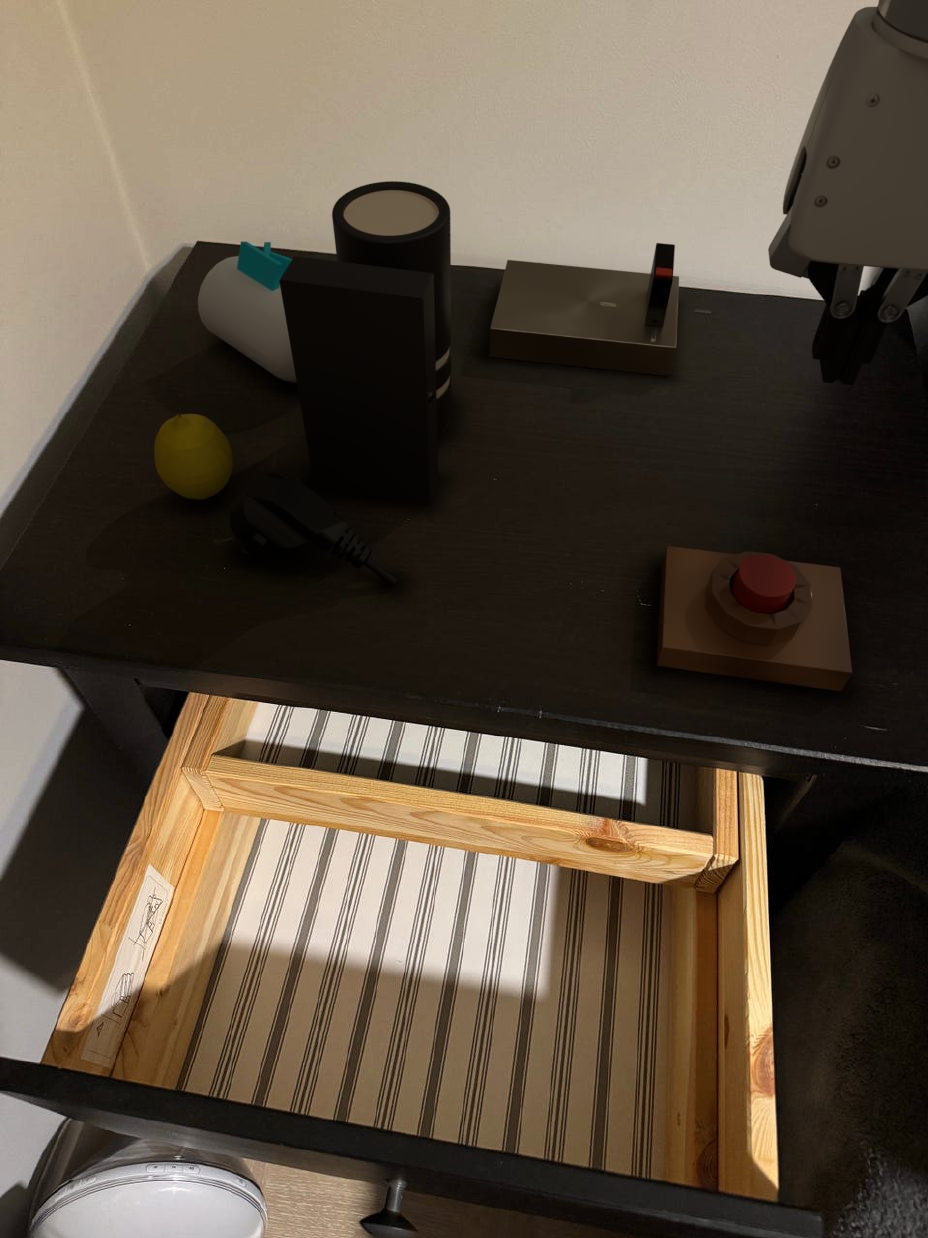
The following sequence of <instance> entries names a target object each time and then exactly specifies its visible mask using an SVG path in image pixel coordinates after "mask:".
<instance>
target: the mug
mask: <svg viewBox="0 0 928 1238" xmlns="http://www.w3.org/2000/svg"><path fill="white" fill-rule="evenodd" d="M271 249H272V242H271V241H264V242H263V248H262V250H261V249H260V248H259V247H256V246H255V245H253V244H252V243H250V242H248V241H246V240H245V241H243V240H242V241H240V246H239V252H238V255H236V256H230V257H226V258H224V259H223V260H220V261H219V262H217V263H216V264H215V265H214V266H213V267H212V268H211V269H210V270H209V271H208V272H207V274H206V276H205V277H204V279H203V281H202V282H201V285H200V288H199V292H198V296H197V311H198V315H199V317H200V320H201V323H202V324H203V325H204V326H205V328H206V329H207V330H208V331H209V332H211V333H212V334H213V335H215V336H216V337H218V338H219V339H221V340H222V341H224V342H226V344H228V345H229V346H231V347H232V348H233V349H235V350H237V351H238V352H240V353H241V354H243V355H244V356H246V357H247V358H248V359H250V360H251V361H253V362H254V363H256V364H257V365H259V366H260V367H261V368H263V369H264V370H266V371H268V372H269V373H270V374H272V375H273V376H275V377H276V378H278V379H280V380H282V381H286V382H290V383H297V381H296V376H295V370H294V364H293V358H292V352H291V346H290V341H289V335H288V329H287V323H286V317H285V312H284V306H283V300H282V294H281V288H280V282H279V280H280V279H281V277H282V275H283V274H284V272H285V270H286V269H287V267H288V265H289V264H290V262H291V260H292V259H293V258H290V257H287V256H284V255H281V254H279V253H276V252H273V251H272V250H271Z"/></svg>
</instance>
